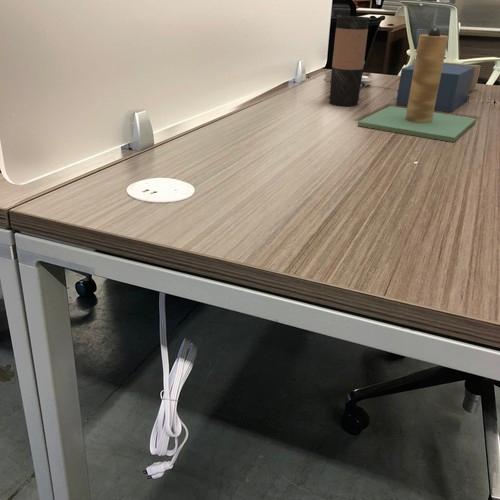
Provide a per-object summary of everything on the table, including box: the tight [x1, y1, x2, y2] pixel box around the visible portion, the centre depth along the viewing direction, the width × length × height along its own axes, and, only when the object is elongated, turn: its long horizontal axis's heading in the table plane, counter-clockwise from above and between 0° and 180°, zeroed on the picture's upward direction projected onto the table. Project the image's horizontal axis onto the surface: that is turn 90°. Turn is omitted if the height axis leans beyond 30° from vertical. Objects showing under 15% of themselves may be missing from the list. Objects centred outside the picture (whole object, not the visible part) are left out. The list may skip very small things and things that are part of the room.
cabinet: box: [395, 63, 474, 113], centre depth 130 cm, size 17×14×9 cm
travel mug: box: [329, 15, 370, 107], centre depth 124 cm, size 8×8×20 cm
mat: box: [357, 105, 477, 143], centre depth 110 cm, size 20×20×1 cm
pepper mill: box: [405, 27, 449, 123], centre depth 106 cm, size 6×6×18 cm
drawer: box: [443, 61, 481, 92], centre depth 141 cm, size 20×13×7 cm, turn 147°
